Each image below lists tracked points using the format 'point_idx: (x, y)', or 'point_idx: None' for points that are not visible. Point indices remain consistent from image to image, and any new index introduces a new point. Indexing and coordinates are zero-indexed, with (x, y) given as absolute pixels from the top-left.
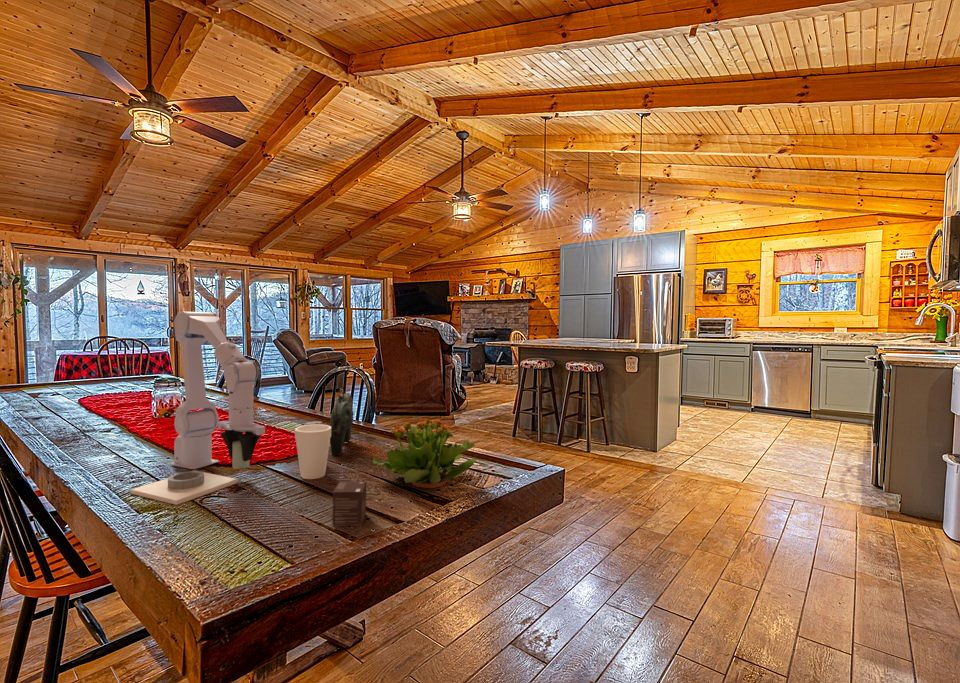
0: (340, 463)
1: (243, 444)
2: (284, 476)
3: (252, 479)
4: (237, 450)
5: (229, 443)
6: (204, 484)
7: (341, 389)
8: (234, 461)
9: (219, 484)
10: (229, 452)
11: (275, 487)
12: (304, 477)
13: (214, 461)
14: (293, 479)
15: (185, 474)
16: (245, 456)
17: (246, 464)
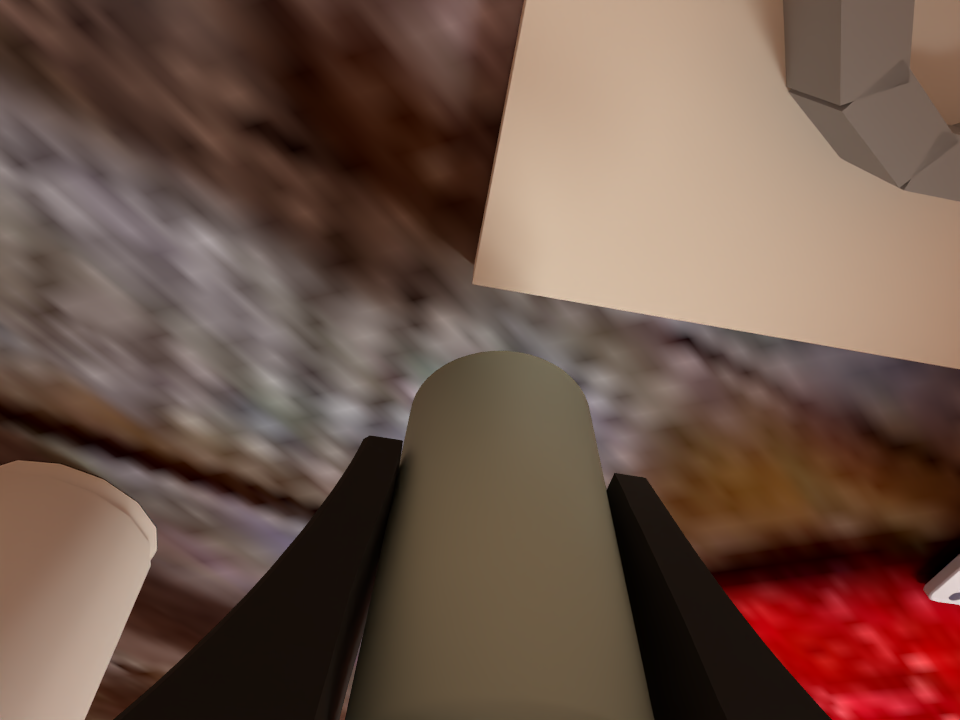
0: (133, 673)
1: (231, 682)
2: (228, 469)
3: (411, 369)
4: (462, 555)
5: (714, 705)
6: (737, 8)
7: None
8: (522, 410)
9: (542, 71)
10: (675, 541)
11: (37, 251)
12: (42, 469)
13: (956, 581)
14: (104, 435)
15: None
16: (337, 484)
17: (406, 433)
